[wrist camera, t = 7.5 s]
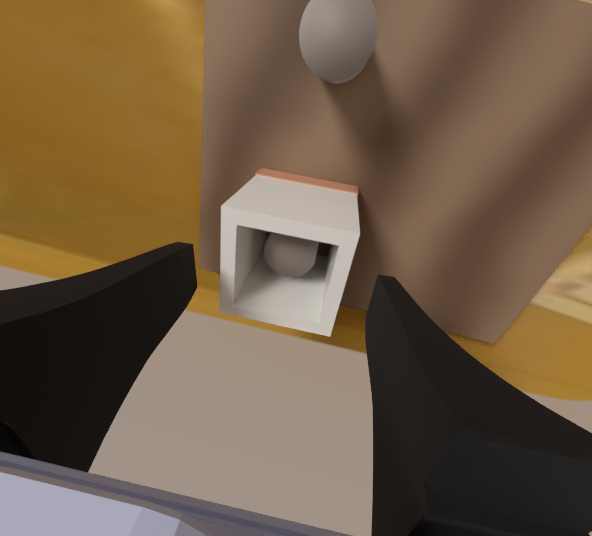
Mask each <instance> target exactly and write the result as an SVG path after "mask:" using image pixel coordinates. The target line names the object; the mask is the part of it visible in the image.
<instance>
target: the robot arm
mask: <svg viewBox="0 0 592 536" xmlns="http://www.w3.org/2000/svg"><path fill="white" fill-rule="evenodd" d="M196 289H197V279H196V269H195V260H194V250H193V244H188V243H182V242H176V243H172V244H169V245H166V246H163V247H160V248H157V249H154V250H152V251H149V252H146V253H144V254H141V255H138V256H135V257H133V258H130V259H127V260H124V261H121V262H118V263H115V264H112V265H109V266H106V267H103V268H100V269H97V270H94V271H91V272H87V273H84V274H80V275H76V276H72V277H68V278H64V279H60V280H55V281H51V282H46V283H40V284H36V285H30V286H25V287H20V288H14V289H8V290H1V291H0V536H351V535H347V534H342V533H338V532H334V531H330V530H326V529H321V528H317V527H313V526H309V525H305V524H301V523H297V522H292V521H288V520H284V519H280V518H276V517H272V516H267V515H263V514H259V513H255V512H251V511H246V510H242V509H238V508H234V507H230V506H226V505H222V504H217V503H213V502H209V501H205V500H201V499H197V498H192V497H188V496H184V495H180V494H175V493H171V492H167V491H163V490H159V489H155V488H151V487H146V486H142V485H138V484H134V483H130V482H125V481H121V480H117V479H113V478H109V477H105V476H101V475H96V474H92V473H88V471H89V469H90V467H91V465H92V462H93V460H94V458H95V456H96V454H97V452H98V450H99V447H100V446H101V443H102V441H103V439H104V437H105V435H106V433H107V432H108V430H109V428H110V425H111V424H112V422H113V420H114V418H115V416H116V414H117V412H118V410H119V408H120V406H121V405H122V403H123V401H124V399H125V398H126V396H127V394H128V392H129V390H130V389H131V387H132V385H133V383H134V382H135V380H136V378H137V377H138V375H139V373H140V372H141V370H142V368H143V367H144V365H145V363H146V361H147V360H148V359H149V357H150V356H151V354H152V353H153V351H154V350H155V349H156V347H157V346H158V344H159V343H160V342H161V341H162V339H163V338H164V337H165V335H166V334H167V333H168V331H169V330H170V329H171V327H172V326H173V325H174V323H175V322H176V321H177V319H178V318H179V317H180V315H181V314H182V312H183V311H184V310H185V308H186V307H187V305H188V304H189V302H190V300H191V298H192V296H193V294H194V292H195V291H196ZM365 340H366V350H367V358H368V365H369V374H370V382H371V391H372V402H373V506H372V536H590V535H589V532H591V531H592V433H590V432H588V431H587V430H585V429H583V428H581V427H580V426H578V425H576V424H574V423H573V422H571V421H569V420H567V419H565V418H564V417H562V416H560V415H559V414H557V413H555V412H553V411H552V410H550V409H548V408H546V407H545V406H543V405H541V404H540V403H538V402H537V401H535V400H534V399H532V398H530V397H529V396H527V395H526V394H524V393H523V392H521V391H520V390H518V389H516V388H515V387H513V386H512V385H511V384H509V383H508V382H506V381H505V380H503V379H502V378H500V377H499V376H498V375H496V374H495V373H493V372H492V371H491V370H489V369H488V368H487V367H485V366H484V365H483V364H481V363H480V362H479V361H477V360H476V359H475V358H474V357H472V356H471V355H470V354H469V353H467V352H466V351H465V350H464V349H463V348H461V347H460V346H459V345H458V344H457V343H456V342H454V341H453V340H452V339H451V338H450V337H449V336H448V335H447V334H446V333H445V332H444V331H443V330H442V329H441V328H440V327H439V326H438V325H437V324H436V323H435V322H434V321H433V320H432V319H431V318H430V317H429V316H428V315H427V314H426V313H425V312H424V311H423V310H422V309H421V307H420V306H419V305H418V304H417V303H416V302H415V301H414V299H413V298H412V297H411V296H410V295H409V293H408V292H407V291H406V290H405V289H404V287H403V286H402V285H401V284H400V283H399V281H398V280H397V279H396V278H395V277H391V276H385V275H379V274H378V276H377V279H376V283H375V286H374V290H373V293H372V297H371V300H370V303H369V307H368V310H367V314H366V327H365Z"/></svg>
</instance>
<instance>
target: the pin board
mask: <svg viewBox="0 0 592 536" xmlns="http://www.w3.org/2000/svg"><path fill="white" fill-rule="evenodd" d="M261 168H264V169H269V170H275V171H280V172H285V173H290V174H296V175H301V176H306V177H311V178H316V179H322V180H327V181H332V182H337V183H343V184H348V185H353V186H358V197H357V202H358V214H359V226H360V236H359V239H358V243H357V246H356V250H355V253H354V257H353V260H352V263H351V267H350V270H349V274H348V277H347V281H346V284H345V287H344V291H343V294H342V298H341V301H340V305H344V306H348V307H352V308H356V309H360V310H364V311H367V310H368V307H369V303H370V300H371V297H372V293H373V290H374V286H375V283H376V279H377V276H378V274H379V275H385V276H391V277H395V278H396V279H397V280H398V281H399V283H400V284H401V285H402V286H403V287H404V289H405V290H406V291H407V292H408V293H409V295H410V296H411V297H412V298H413V299H414V301H415V302H416V303H417V304H418V305H419V306H420V307H421V309H422V310H423V311H424V312H425V313H426V314H427V315H428V316H429V317H430V318H431V319H432V320H433V321H434V322H435V323H436V324H437V325H438V326H439V327H440V328H441V329H442V330H443V331H445V332H449V333H453V334H457V335H460V336H464V337H468V338H472V339H476V340H480V341H484V342H488V343H491V344H495V343H496V342H497V341H498V340H499V338H500V337H501V336H502V335H503V333H504V332H505V331H506V330H507V329H508V327H509V326H510V325H511V324H512V322H513V321H514V320H515V319H516V317H517V316H518V315H519V314H520V313H521V311H522V310H523V309H524V308H525V306H526V305H527V304H528V303H529V301H530V300H531V299H532V298H533V297H534V295H535V294H536V293H537V292H538V290H539V289H540V288H541V287H542V285H543V284H544V283H545V282H546V281H547V279H548V278H549V277H550V276H551V274H552V273H553V272H554V271H555V269H556V268H557V267H558V266H559V265H560V263H561V262H562V261H563V260H564V258H565V257H566V256H567V255H568V253H569V252H570V251H571V250H572V249H573V247H574V246H575V245H576V244H577V242H578V241H579V240H580V239H581V237H582V236H583V235H584V234H585V233H586V231H587V230H588V229H589V228H590V226H591V225H592V4H591V3H586V2H582V1H578V0H205V41H204V81H203V122H202V162H201V203H200V243H199V268H201V269H205V270H209V271H212V272H216V273H220V249H221V206H222V205H223V204H224V203H225V202H226V201H227V200H228V199H230V198H231V197H232V196H233V195H234V194H235V193H236V192H237V191H239V190H240V189H241V188H242V187H243V186H244V185H245V184H246V183H248V182H249V181H250V180H251V179H252V178H253V177H254V176H255V173H256V172H257V171H259V170H260V169H261ZM330 245H331V244H329V243H324V242H319V241H314V240H309V239H304V238H299V237H294V236H289V235H284V234H279V233H274V232H270V231H268V233H267V241H266V243H265V246H264V257H265V260H266V262H267V264H268V265H269V266H270V268H271V269H273V270H274V271H275V272H277V273H278V274H281V275H283V276H287V277H297V276H301V275H304V274H305V273H307V272H308V271H309V270H310V269H311V268H312V267H313V265H314V263H315V260H316V255H321V256H326V257H328V254H329V249H330Z"/></svg>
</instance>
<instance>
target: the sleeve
mask: <svg viewBox="0 0 592 536" xmlns="http://www.w3.org/2000/svg"><path fill="white" fill-rule="evenodd" d="M357 197H358V186H353V185H348V184H343V183H337V182H332V181H327V180H322V179H316V178H311V177H306V176H301V175H296V174H290V173H285V172H280V171H275V170H269V169H264V168H261V169H260V170H259V171H257V172H256V173H255V176H254V177H253V178H252V179H251V180H250V181H249V182H248V183H246V184H245V185H244V186H243V187H242V188H241V189H240V190H239V191H237V192H236V193H235V194H234V195H233V196H232V197H231V198H230V199H228V200H227V201H226V202H225V203H224V204H223V205H222V206H221V249H220V313H225V314H229V315H234V316H238V317H243V318H247V319H252V320H256V321H261V322H265V323H270V324H274V325H279V326H283V327H288V328H293V329H297V330H302V331H306V332H311V333H315V334H320V335H324V336H329V337H330V335H331V332H332V329H333V325H334V322H335V318H336V315H337V311H338V308H339V305H340V301H341V298H342V294H343V291H344V287H345V284H346V281H347V277H348V274H349V270H350V267H351V263H352V260H353V257H354V253H355V250H356V246H357V243H358V239H359V236H360V226H359V214H358V202H357ZM268 231H270V232H274V233H279V234H284V235H289V236H294V237H299V238H304V239H309V240H314V241H319V242H324V243H329V244H331V245H330V249H329V254H328V257H326V256H321V255H316V260H315V263H314V265H313V267H312V268H311V269H310V270H309V271H308V272H307V273H305V274H304V275H301V276H297V277H287V276H283V275H281V274H278V273H277V272H275V271H274V270H273V269H271V268H270V266H269V265H268V264H267V262H266V260H265V257H264V246H265V243H266V241H267V233H268Z"/></svg>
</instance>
